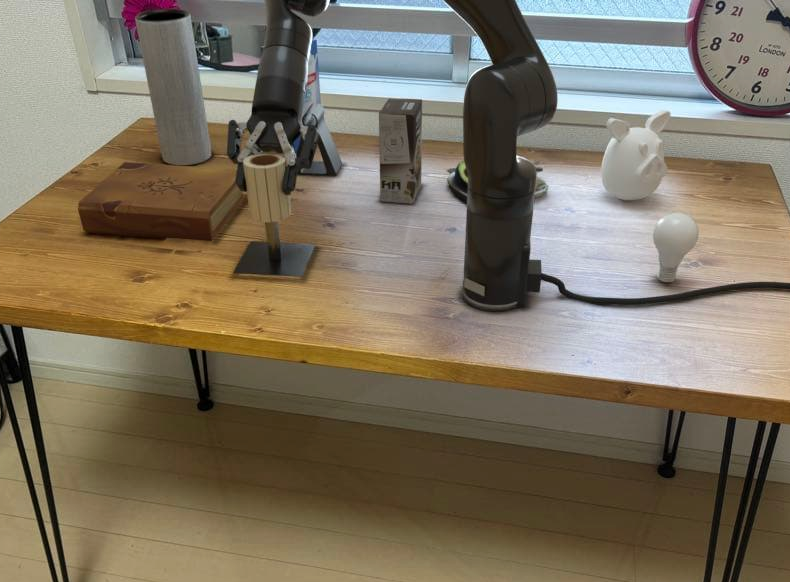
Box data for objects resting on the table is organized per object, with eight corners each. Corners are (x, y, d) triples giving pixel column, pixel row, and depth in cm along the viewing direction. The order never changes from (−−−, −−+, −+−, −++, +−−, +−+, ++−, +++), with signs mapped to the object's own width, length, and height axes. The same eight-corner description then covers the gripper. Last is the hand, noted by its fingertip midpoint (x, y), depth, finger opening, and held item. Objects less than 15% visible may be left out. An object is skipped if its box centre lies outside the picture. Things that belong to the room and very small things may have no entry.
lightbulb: (679, 295, 120) (695, 227, 114) (638, 284, 123) (651, 217, 116) (691, 277, 125) (708, 211, 118) (651, 267, 127) (665, 201, 121)
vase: (206, 166, 163) (183, 20, 146) (157, 166, 163) (128, 21, 146) (216, 148, 170) (195, 8, 154) (168, 148, 171) (142, 8, 154)
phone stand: (342, 164, 162) (339, 104, 155) (336, 176, 158) (332, 114, 150) (298, 162, 164) (293, 102, 156) (291, 174, 159) (285, 112, 152)
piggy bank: (636, 217, 142) (652, 132, 132) (583, 197, 149) (594, 115, 139) (677, 198, 148) (694, 115, 139) (624, 179, 155) (637, 99, 146)
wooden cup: (294, 206, 127) (289, 152, 122) (285, 223, 122) (280, 168, 117) (256, 204, 128) (249, 151, 122) (245, 221, 123) (238, 167, 118)
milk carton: (294, 153, 168) (285, 51, 155) (271, 147, 170) (260, 46, 158) (323, 138, 174) (316, 39, 162) (300, 133, 177) (292, 35, 165)
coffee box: (413, 204, 147) (414, 115, 137) (379, 202, 148) (377, 112, 138) (422, 184, 154) (423, 98, 144) (389, 182, 155) (388, 96, 145)
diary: (84, 235, 138) (76, 203, 135) (131, 191, 153) (124, 162, 149) (212, 244, 135) (207, 212, 132) (247, 198, 150) (243, 168, 146)
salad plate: (518, 163, 162) (520, 140, 159) (571, 195, 149) (574, 171, 147) (433, 180, 156) (433, 157, 153) (481, 216, 143) (483, 191, 140)
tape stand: (316, 248, 134) (312, 197, 128) (302, 281, 125) (297, 228, 120) (251, 245, 135) (244, 194, 129) (233, 277, 126) (225, 224, 121)
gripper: (227, 71, 120) (209, 178, 118) (320, 75, 118) (303, 184, 116) (244, 96, 128) (227, 197, 126) (332, 101, 125) (316, 204, 123)
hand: (264, 191), depth 121 cm, fingers closed on wooden cup, 6 cm apart
